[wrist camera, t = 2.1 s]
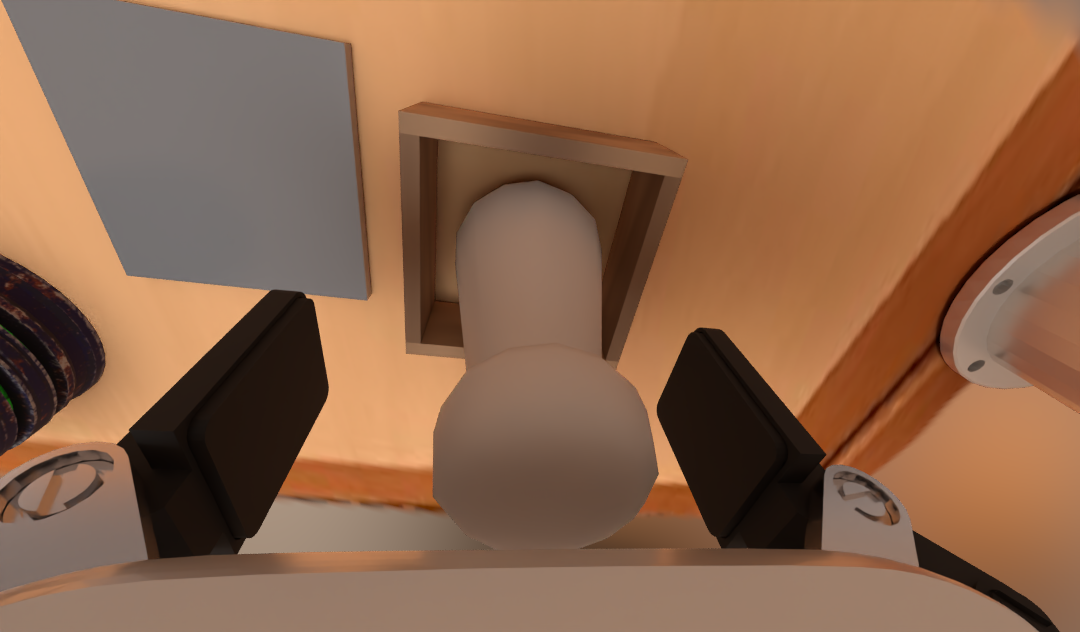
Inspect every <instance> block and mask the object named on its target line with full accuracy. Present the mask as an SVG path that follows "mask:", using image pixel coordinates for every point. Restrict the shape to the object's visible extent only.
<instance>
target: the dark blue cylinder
mask: <svg viewBox="0 0 1080 632" xmlns="http://www.w3.org/2000/svg"><path fill="white" fill-rule="evenodd" d="M104 367H105V353H104V350H103V346H102V343H101V341H100V339H99V337H98V335H97V333H96V331H95V330H94V328H93V327H92V325H91V324H90V322H89V321H88V320H87V318H86V317H85V316H84V315H83V314H82V313H81V312H80V311H79V309H78V308H77V307H76V306H75V305H74V304H73V303H72V302H71V301H69V300H68V299H67V298H66V297H65V296H64V295H63V294H62V293H61V292H59V291H58V290H57V289H55V288H54V287H53V286H51V285H50V284H49V283H47V282H46V281H45V280H43V279H42V278H40V277H39V276H37V275H35V274H34V273H32V272H31V271H29V270H28V269H26V268H24V267H23V266H21V265H19V264H17V263H15V262H13V261H11V260H9V259H8V258H6V257H4V256H2V255H0V456H1V455H3V454H4V453H5V452H6V451H7V450H10V449H12V448H14V447H16V446H18V445H20V444H21V443H22V442H24V441H25V440H26V439H28V438H29V437H30V436H32V435H33V434H34V433H36V432H37V431H38V430H40V429H41V428H42V427H43V426H45V425H46V424H47V423H48V422H49V421H50V420H51V418H52V417H53V416H54V415H55V414H56V413H58V412H59V411H60V410H61V409H63V408H64V407H65V406H66V405H67V404H68V403H69V401H70V400H72V399H74V398H76V397H78V396H80V395H81V394H83V393H84V392H85V391H87V390H88V389H89V388H91V387H92V386H93V385H94V384H95V383H97V382H98V380H99V379H100V377H101V376H102V374H103V371H104Z"/></svg>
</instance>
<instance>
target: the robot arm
mask: <svg viewBox="0 0 1080 632" xmlns="http://www.w3.org/2000/svg"><path fill="white" fill-rule="evenodd" d="M940 351H941V354H942V356H943V358H944V361H945V363H946V364H947V365H948V366H949V367H950V368H951V369H952V370H953V371H955V372H956V373H958V374H959V375H961V376H963V377H964V378H966V379H967V380H969V381H970V382H972V383H974V384H977V385H980V386H983V387H989V388H999V389H1010V388H1025V387H1030V386H1035V387H1037V388H1038V389H1040V390H1042V391H1043V392H1045V393H1047V394H1048V395H1050V396H1052V397H1053V398H1055V399H1056V400H1058V401H1060V402H1061V403H1063V404H1064V405H1066V406H1068V407H1069V408H1071V409H1073V410H1074V411H1076V412H1077V413H1079V414H1080V194H1079V195H1077V196H1075V197H1073V198H1071V199H1069V200H1067V201H1064V202H1063V203H1061V204H1059V205H1058V206H1056V207H1055V208H1053V209H1051V210H1050V211H1048V212H1046V213H1045V214H1043V215H1042V216H1040V217H1038V218H1037V219H1035V220H1034V221H1032V222H1031V223H1030V224H1028V225H1027V226H1026V227H1024V228H1023V229H1022V230H1020V231H1019V232H1018V233H1016V234H1015V235H1014V236H1012V237H1011V238H1010V239H1008V240H1007V241H1006V242H1005V243H1004V244H1003V245H1002V246H1000V247H999V248H998V249H997V250H996V251H995V252H994V253H993V254H992V255H991V256H989V257H988V258H987V259H986V260H985V261H984V262H983V263H982V264H981V266H980V267H979V268H978V269H977V270H976V271H975V272H974V273H973V275H972V276H971V277H970V278H969V279H968V280H967V281H966V283H965V284H964V286H963V287H962V289H961V290H960V291H959V293H958V294H957V296H956V297H955V299H954V300H953V302H952V304H951V306H950V308H949V310H948V312H947V314H946V316H945V318H944V322H943V326H942V330H941V334H940ZM328 390H329V386H328V380H327V374H326V368H325V363H324V357H323V351H322V345H321V340H320V334H319V328H318V323H317V317H316V311H315V306H314V302H313V300H312V299H307V298H306V296H305V295H304V293H303V292H299V291H288V290H277V289H274V290H271V291H270V292H269V293H268V294H267V295H266V296H265V297H263V298H262V299H261V300H260V301H259V302H258V303H257V304H256V305H255V306H254V307H253V308H252V309H251V310H250V311H249V312H248V313H247V314H246V315H245V316H244V317H243V318H242V319H241V320H240V321H239V322H238V323H237V324H236V325H235V326H234V327H233V328H232V329H231V330H230V331H229V332H228V333H227V334H226V335H225V336H224V337H223V338H222V339H221V340H220V341H219V342H218V343H217V344H216V345H215V346H214V347H213V348H212V349H211V350H210V351H209V352H207V353H206V354H205V355H204V356H203V357H202V358H201V359H200V360H199V361H198V362H197V363H196V364H195V365H194V366H193V367H192V368H191V369H190V370H189V371H188V372H187V373H186V374H185V375H184V376H183V377H182V378H181V379H180V380H179V381H178V382H177V383H176V384H175V385H174V386H173V387H172V388H171V389H170V390H169V391H168V392H167V393H166V394H165V395H164V396H163V397H162V398H161V399H160V400H159V401H158V402H157V403H156V404H155V405H154V406H153V407H151V408H150V409H149V410H148V411H147V412H146V413H145V414H144V415H143V416H142V417H141V418H140V419H139V420H138V421H137V422H136V423H135V424H134V425H133V426H132V427H131V428H130V429H129V431H130V432H129V433H128V434H127V435H126V436H125V437H124V438H123V439H122V440H121V441H120V442H119V443H118V444H117V445H115V444H113V443H105V442H90V443H81V444H75V445H71V446H68V447H64V448H60V449H56V450H53V451H51V452H49V453H46V454H44V455H41V456H39V457H36V458H34V459H31V460H30V461H28V462H26V463H24V464H22V465H21V466H19V467H17V468H15V469H13V470H12V471H10V472H8V473H7V474H6V475H4V476H3V477H2V478H0V632H1059V630H1058V629H1057V628H1056V626H1055V625H1054V624H1053V623H1052V622H1051V620H1050V619H1049V618H1048V616H1047V615H1046V614H1045V613H1044V612H1043V611H1042V610H1041V609H1040V608H1039V607H1038V606H1037V605H1035V604H1034V603H1033V602H1032V601H1030V600H1029V599H1028V598H1026V597H1025V596H1023V595H1021V594H1019V593H1018V592H1016V591H1015V590H1013V589H1012V588H1010V587H1008V586H1007V585H1005V584H1004V583H1002V582H1000V581H999V580H997V579H995V578H993V577H992V576H990V575H988V574H987V573H985V572H983V571H982V570H980V569H978V568H976V567H975V566H973V565H971V564H970V563H968V562H966V561H964V560H963V559H961V558H959V557H957V556H956V555H954V554H952V553H951V552H949V551H947V550H946V549H944V548H942V547H940V546H939V545H937V544H935V543H933V542H932V541H930V540H928V539H927V538H925V537H923V536H922V535H920V534H918V533H916V532H915V531H913V530H912V526H911V521H910V518H909V515H908V513H907V510H906V509H905V507H904V506H903V505H902V503H901V502H900V500H899V499H898V498H897V497H896V496H895V495H893V493H892V492H891V491H890V490H889V489H888V488H886V487H885V486H884V485H883V484H881V483H880V482H879V481H877V480H876V479H874V478H873V477H871V476H869V475H868V474H866V473H864V472H862V471H860V470H857V469H855V468H852V467H849V466H844V465H832V466H830V467H828V468H827V469H826V470H824V469H823V468H822V466H821V465H820V464H819V463H820V462H821V461H822V459H823V458H824V457H825V456H826V453H825V452H824V451H823V450H822V449H821V447H820V446H819V445H818V444H817V443H816V441H815V440H814V439H813V438H812V437H811V435H810V434H809V433H808V432H807V431H806V429H805V428H804V427H803V426H802V425H801V424H800V422H799V421H798V420H797V419H796V418H795V416H794V415H793V414H792V413H791V412H790V410H789V409H788V408H787V407H786V406H785V404H784V403H783V402H782V401H781V400H780V398H779V397H778V396H777V395H776V394H775V392H774V391H773V390H772V389H771V388H770V386H769V385H768V384H767V383H766V382H765V380H764V379H763V378H762V377H761V376H760V375H759V373H758V372H757V371H756V370H755V369H754V367H753V366H752V365H751V364H750V363H749V361H748V360H747V359H746V358H745V357H744V355H743V354H742V353H741V352H740V351H739V349H738V348H737V347H736V346H735V345H734V343H733V342H732V341H731V340H730V339H729V337H728V336H727V335H726V334H725V333H724V332H723V331H722V330H720V329H711V328H697V329H696V330H695V331H694V332H692V333H690V334H689V335H688V337H687V339H686V341H685V343H684V346H683V348H682V350H681V352H680V355H679V357H678V359H677V361H676V364H675V366H674V368H673V370H672V373H671V375H670V377H669V379H668V382H667V384H666V386H665V388H664V390H663V393H662V395H661V397H660V399H659V402H658V404H657V416H658V419H659V421H660V423H661V425H662V428H663V430H664V432H665V434H666V436H667V439H668V441H669V443H670V445H671V448H672V450H673V452H674V454H675V457H676V459H677V461H678V463H679V466H680V468H681V470H682V472H683V475H684V477H685V479H686V481H687V483H688V486H689V488H690V490H691V492H692V495H693V497H694V499H695V501H696V504H697V506H698V508H699V510H700V513H701V515H702V517H703V519H704V522H705V524H706V526H707V528H708V530H709V532H710V533H711V534H712V535H713V536H716V537H717V540H718V542H719V544H720V546H721V549H532V550H442V551H441V550H435V551H360V552H303V553H269V554H238V552H239V550H240V548H241V546H242V545H243V543H244V541H245V539H246V538H252V537H253V536H254V535H255V534H256V533H257V532H258V530H259V529H260V527H261V525H262V523H263V521H264V519H265V517H266V515H267V513H268V511H269V509H270V508H271V506H272V504H273V502H274V500H275V498H276V496H277V494H278V492H279V490H280V488H281V486H282V484H283V482H284V481H285V479H286V477H287V475H288V473H289V471H290V469H291V467H292V465H293V463H294V461H295V459H296V457H297V456H298V454H299V452H300V450H301V448H302V446H303V444H304V442H305V440H306V438H307V436H308V434H309V432H310V431H311V429H312V427H313V425H314V423H315V421H316V419H317V417H318V415H319V413H320V411H321V409H322V407H323V405H324V404H325V402H326V399H327V396H328ZM747 548H748V549H747Z"/></svg>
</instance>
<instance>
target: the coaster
mask: <svg viewBox="0 0 1080 632" xmlns="http://www.w3.org/2000/svg"><path fill="white" fill-rule="evenodd" d="M2 2H3V5H4V7H5V9H6V11H7V13H8V16H9V18H10V20H11V22H12V24H13V27H14V29H15V31H16V33H17V35H18V38H19V40H20V42H21V44H22V46H23V49H24V51H25V53H26V55H27V57H28V60H29V62H30V64H31V66H32V68H33V70H34V73H35V75H36V77H37V79H38V81H39V84H40V86H41V88H42V90H43V92H44V95H45V97H46V99H47V101H48V103H49V106H50V108H51V110H52V112H53V114H54V117H55V119H56V121H57V123H58V125H59V128H60V130H61V132H62V134H63V136H64V138H65V141H66V143H67V145H68V147H69V149H70V152H71V154H72V156H73V158H74V160H75V163H76V165H77V167H78V169H79V171H80V174H81V176H82V178H83V180H84V182H85V185H86V187H87V189H88V191H89V193H90V196H91V198H92V200H93V202H94V204H95V207H96V209H97V211H98V213H99V215H100V217H101V220H102V222H103V224H104V226H105V228H106V231H107V233H108V235H109V237H110V239H111V242H112V244H113V246H114V248H115V250H116V253H117V255H118V257H119V259H120V261H121V264H122V266H123V268H124V270H125V272H126V275H127V276H137V277H147V278H156V279H166V280H175V281H185V282H195V283H204V284H214V285H223V286H233V287H243V288H252V289H262V290H274V289H277V290H288V291H299V292H303V293H304V294H310V295H320V296H329V297H339V298H349V299H358V300H368V299H369V297H370V296H371V283H370V271H369V259H368V247H367V235H366V223H365V211H364V199H363V187H362V175H361V163H360V151H359V139H358V127H357V115H356V103H355V91H354V78H353V66H352V54H351V44H348V43H343V42H338V41H332V40H327V39H322V38H316V37H311V36H306V35H300V34H295V33H290V32H284V31H279V30H274V29H268V28H263V27H258V26H252V25H247V24H242V23H236V22H231V21H226V20H220V19H215V18H210V17H204V16H199V15H194V14H188V13H183V12H178V11H172V10H167V9H162V8H156V7H151V6H146V5H140V4H135V3H130V2H124V1H119V0H2Z"/></svg>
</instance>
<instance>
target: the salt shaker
mask: <svg viewBox="0 0 1080 632" xmlns="http://www.w3.org/2000/svg"><path fill="white" fill-rule="evenodd" d="M455 266H456V275H457V285H458V295H459V305H460V314H461V324H462V334H463V343H464V353H465V363H466V373H465V374H464V375H463V377H462V378H461V380H460V381H459V383H458V384H457V385H456V387H455V388H454V390H453V391H452V392H451V394H450V395H449V397H448V398H447V399H446V401H445V402H444V404H443V405H442V406H441V409H440V412H439V415H438V419H437V422H436V426H435V429H434V434H433V497H434V499H435V500H436V501H437V502H438V503H439V505H440V506H441V507H442V508H443V509H444V510H445V512H446V513H447V514H448V515H449V516H450V517H451V519H452V520H453V521H454V522H455V523H456V525H457V526H458V527H459V528H460V529H461V530H462V531H463V532H464V533H465V535H466V536H468V537H470V538H472V539H475V540H477V541H479V542H481V543H483V544H485V545H487V546H489V547H492V548H494V549H496V550H532V549H579V548H582V547H584V546H587V545H590V544H593V543H595V542H598V541H601V540H604V539H607V538H608V537H609V536H611V535H612V534H614V533H615V532H616V531H617V530H619V529H621V528H622V527H623V526H624V525H626V524H627V523H629V522H630V521H631V520H633V519H634V518H635V516H636V515H637V513H638V512H639V511H640V509H641V508H642V506H643V505H644V503H645V501H646V499H647V497H648V495H649V493H650V491H651V489H652V487H653V485H654V483H655V480H656V478H657V476H658V474H659V473H658V467H657V461H656V454H655V448H654V442H653V438H652V433H651V428H650V423H649V418H648V414H647V410H646V408H645V406H644V404H643V402H642V400H641V398H640V396H639V394H638V392H637V390H636V388H635V387H634V386H633V385H632V384H631V383H630V382H629V381H628V380H627V379H625V378H624V377H623V376H622V375H621V374H620V373H619V372H617V371H616V370H615V369H614V368H613V367H612V366H610V365H609V364H608V363H607V362H606V361H605V360H604V359H602V249H601V244H600V240H599V235H598V231H597V226H596V221H595V219H594V218H593V217H592V215H591V214H590V213H589V212H588V211H587V210H586V209H585V208H584V207H583V206H582V205H581V204H580V203H579V202H578V200H577V199H576V198H575V197H574V196H573V195H571V194H570V193H568V192H565V191H563V190H560V189H558V188H556V187H553V186H551V185H548V184H546V183H543V182H541V181H539V180H537V181H529V182H520V183H512V184H504V185H502V186H501V187H499V188H497V189H496V190H494V191H492V192H491V193H489V194H487V195H486V196H484V197H482V198H481V199H479V200H477V201H476V202H475V203H474V204H473V205H472V207H471V208H470V210H469V212H468V214H467V216H466V217H465V219H464V221H463V223H462V224H461V226H460V228H459V230H458V232H457V236H456V260H455Z"/></svg>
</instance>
